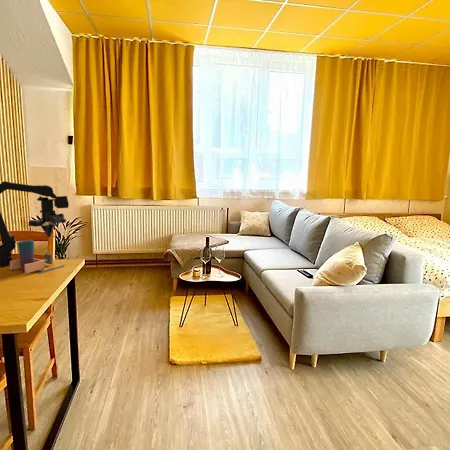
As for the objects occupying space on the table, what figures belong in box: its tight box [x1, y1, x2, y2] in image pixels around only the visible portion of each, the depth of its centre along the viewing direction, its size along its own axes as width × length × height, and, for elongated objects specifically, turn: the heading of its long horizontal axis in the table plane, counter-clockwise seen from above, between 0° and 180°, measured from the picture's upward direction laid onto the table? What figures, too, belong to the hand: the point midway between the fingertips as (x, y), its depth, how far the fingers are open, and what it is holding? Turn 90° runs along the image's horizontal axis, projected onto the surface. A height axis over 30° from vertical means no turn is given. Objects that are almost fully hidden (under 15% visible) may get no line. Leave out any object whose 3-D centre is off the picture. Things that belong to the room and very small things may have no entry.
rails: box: [19, 264, 66, 274], centre depth 170 cm, size 16×14×1 cm
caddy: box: [9, 252, 53, 275], centre depth 166 cm, size 17×12×6 cm
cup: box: [17, 239, 35, 274], centre depth 162 cm, size 7×7×15 cm
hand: (48, 237), depth 182 cm, fingers closed
